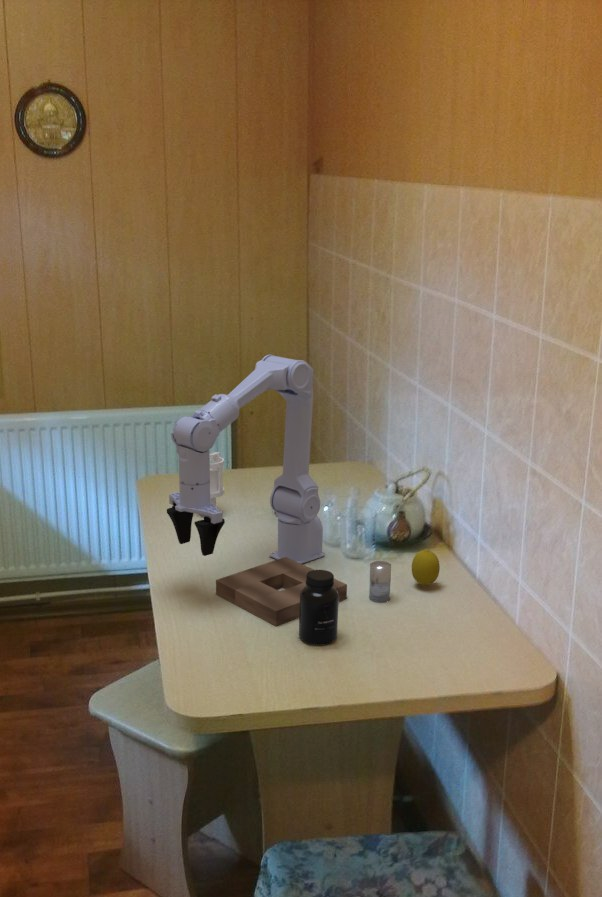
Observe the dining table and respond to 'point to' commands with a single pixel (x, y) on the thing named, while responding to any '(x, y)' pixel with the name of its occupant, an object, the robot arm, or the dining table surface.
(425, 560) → the lemon
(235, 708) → the dining table surface
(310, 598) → the supplement bottle
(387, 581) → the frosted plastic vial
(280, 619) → the dock block
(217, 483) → the strainer
